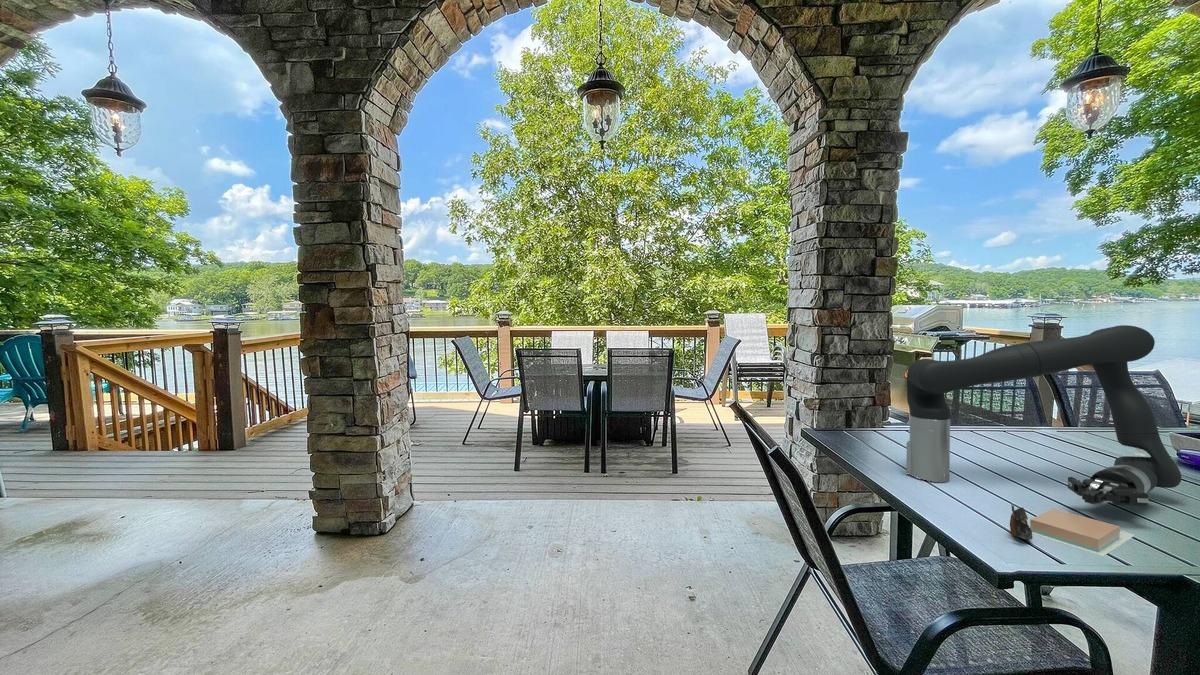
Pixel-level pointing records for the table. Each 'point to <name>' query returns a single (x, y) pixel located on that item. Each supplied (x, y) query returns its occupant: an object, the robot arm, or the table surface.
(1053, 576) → the table surface
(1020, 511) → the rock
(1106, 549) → the mat
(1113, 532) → the tile
